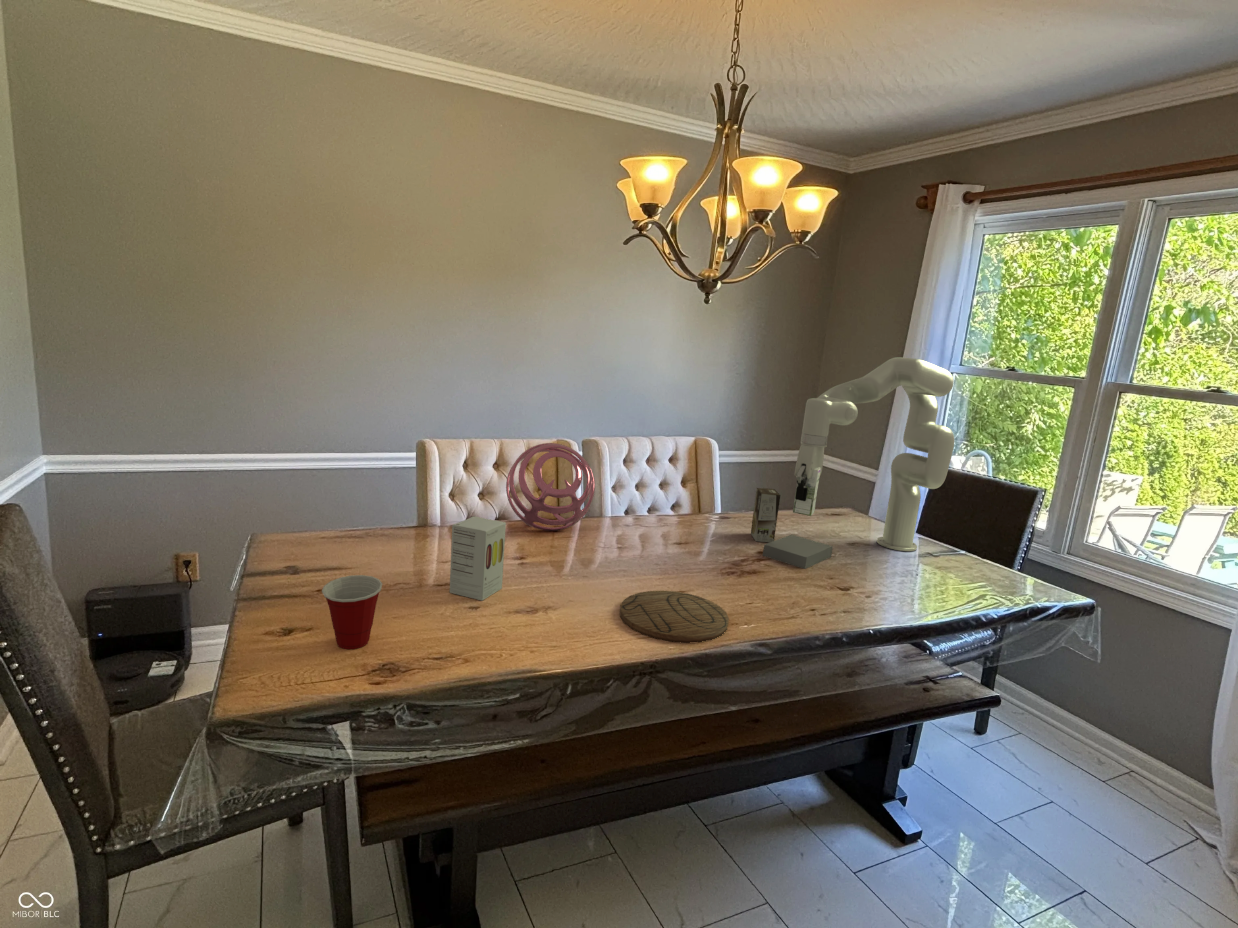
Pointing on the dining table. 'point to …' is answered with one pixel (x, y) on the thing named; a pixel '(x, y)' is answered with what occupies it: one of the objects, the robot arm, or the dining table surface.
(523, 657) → the dining table surface
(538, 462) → the pink openwork sphere
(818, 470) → the syrup box
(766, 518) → the coffee box
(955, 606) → the dining table surface
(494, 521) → the supplement box
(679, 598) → the trivet
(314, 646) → the dining table surface
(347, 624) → the plastic cup
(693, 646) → the dining table surface
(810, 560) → the plate
